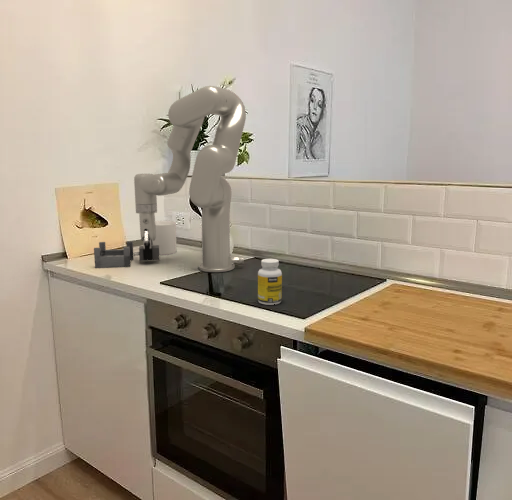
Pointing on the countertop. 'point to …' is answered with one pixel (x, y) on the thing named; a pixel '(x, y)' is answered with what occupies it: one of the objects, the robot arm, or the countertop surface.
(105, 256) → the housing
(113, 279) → the countertop surface
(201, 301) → the countertop surface
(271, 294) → the pill bottle
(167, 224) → the cup
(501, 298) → the countertop surface
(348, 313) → the countertop surface
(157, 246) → the plug
